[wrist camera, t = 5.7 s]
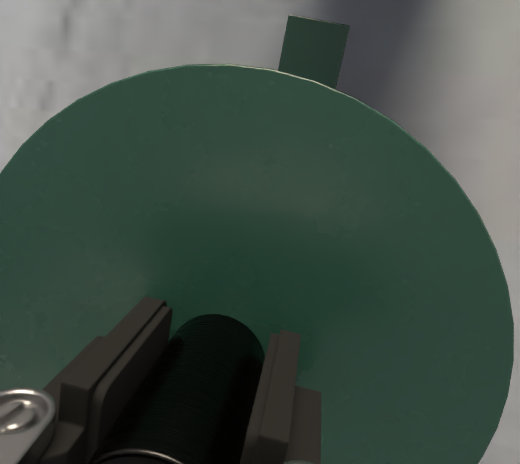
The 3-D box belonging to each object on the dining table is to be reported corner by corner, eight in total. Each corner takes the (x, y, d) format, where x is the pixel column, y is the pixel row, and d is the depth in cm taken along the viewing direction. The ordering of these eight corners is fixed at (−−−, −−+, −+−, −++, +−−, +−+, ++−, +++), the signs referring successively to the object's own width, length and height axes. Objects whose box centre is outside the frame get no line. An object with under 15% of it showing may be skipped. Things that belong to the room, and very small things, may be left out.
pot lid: (-14, 471, 16) (-214, 683, 10) (-2, 18, 12) (-336, -78, 6) (408, 592, 14) (464, 916, 9) (589, 134, 10) (930, 163, 5)
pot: (167, 313, 32) (102, 395, 23) (209, 26, 26) (144, -16, 17) (357, 361, 30) (368, 469, 21) (443, 70, 25) (506, 50, 16)
